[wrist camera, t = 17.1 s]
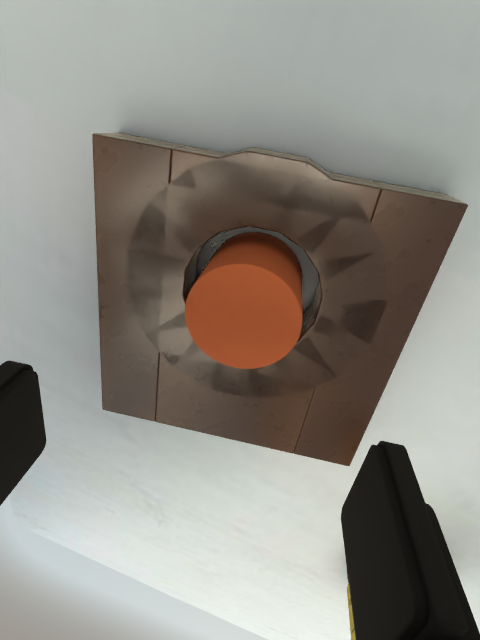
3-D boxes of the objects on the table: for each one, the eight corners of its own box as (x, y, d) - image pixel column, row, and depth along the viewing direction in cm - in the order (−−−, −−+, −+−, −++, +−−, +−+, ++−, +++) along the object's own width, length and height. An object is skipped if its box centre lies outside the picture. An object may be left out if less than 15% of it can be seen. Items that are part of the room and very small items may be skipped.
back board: (119, 385, 26) (102, 409, 23) (117, 121, 18) (91, 121, 15) (345, 436, 25) (349, 466, 22) (451, 184, 17) (474, 192, 14)
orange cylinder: (204, 309, 22) (180, 356, 17) (215, 223, 19) (189, 252, 15) (290, 327, 21) (287, 379, 17) (312, 242, 19) (316, 277, 15)
